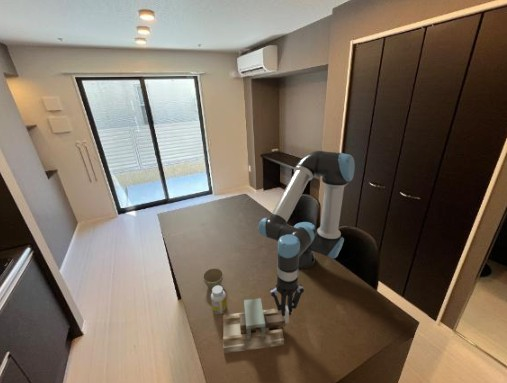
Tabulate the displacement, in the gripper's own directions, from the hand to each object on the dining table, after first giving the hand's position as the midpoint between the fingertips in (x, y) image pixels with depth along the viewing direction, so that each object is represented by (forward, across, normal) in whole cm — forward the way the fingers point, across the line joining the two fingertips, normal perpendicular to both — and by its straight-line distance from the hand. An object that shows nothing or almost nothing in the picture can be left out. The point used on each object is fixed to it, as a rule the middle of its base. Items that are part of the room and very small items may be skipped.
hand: (285, 320), depth 92 cm
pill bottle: (+5, +27, -13) cm, 31 cm away
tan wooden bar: (+2, +10, 0) cm, 10 cm away
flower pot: (+5, +30, -27) cm, 41 cm away
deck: (+5, +14, 0) cm, 15 cm away
